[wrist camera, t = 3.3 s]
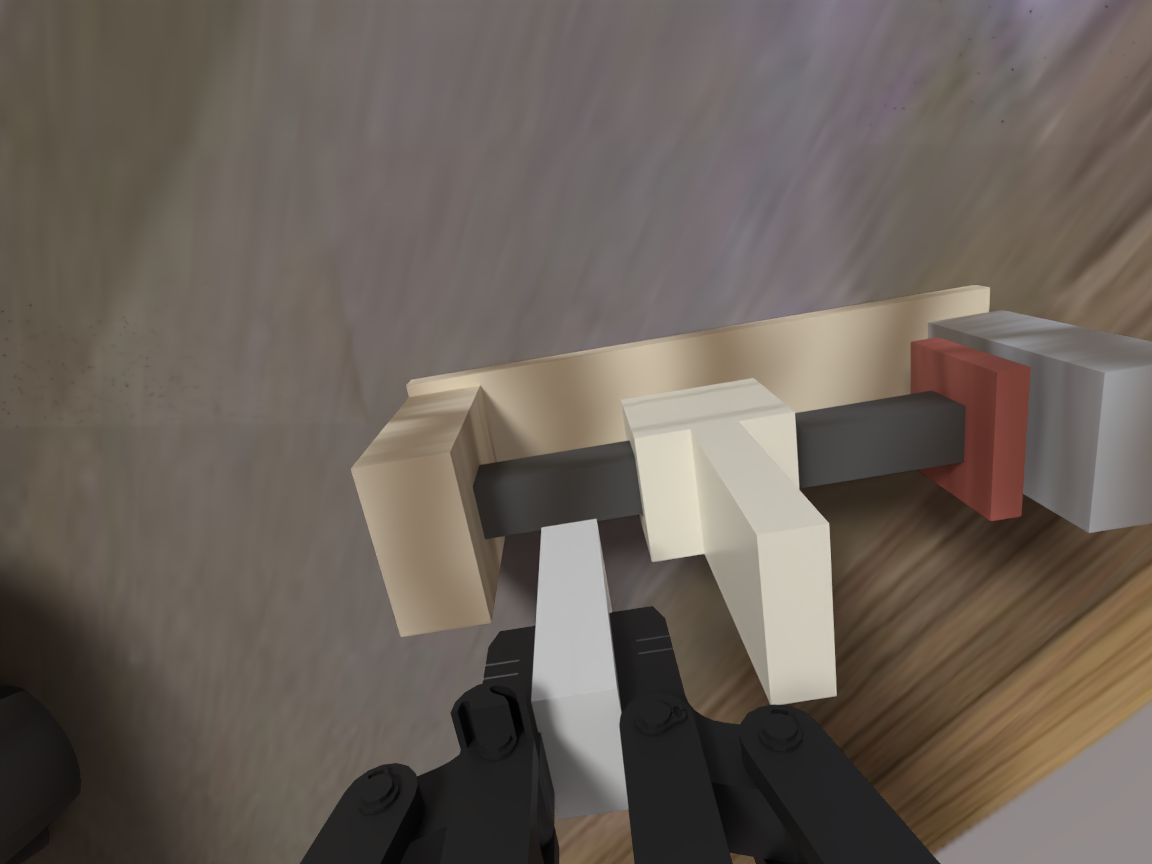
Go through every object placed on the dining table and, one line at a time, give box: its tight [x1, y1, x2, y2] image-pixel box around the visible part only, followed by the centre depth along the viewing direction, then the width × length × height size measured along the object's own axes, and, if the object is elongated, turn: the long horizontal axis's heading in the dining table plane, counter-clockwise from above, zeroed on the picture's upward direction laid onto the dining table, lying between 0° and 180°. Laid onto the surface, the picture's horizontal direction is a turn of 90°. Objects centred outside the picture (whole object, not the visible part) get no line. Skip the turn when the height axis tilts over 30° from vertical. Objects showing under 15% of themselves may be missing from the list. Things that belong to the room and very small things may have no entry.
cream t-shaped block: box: [621, 378, 837, 705], centre depth 19 cm, size 5×4×11 cm
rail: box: [351, 285, 1152, 637], centre depth 24 cm, size 24×7×10 cm, turn 99°
